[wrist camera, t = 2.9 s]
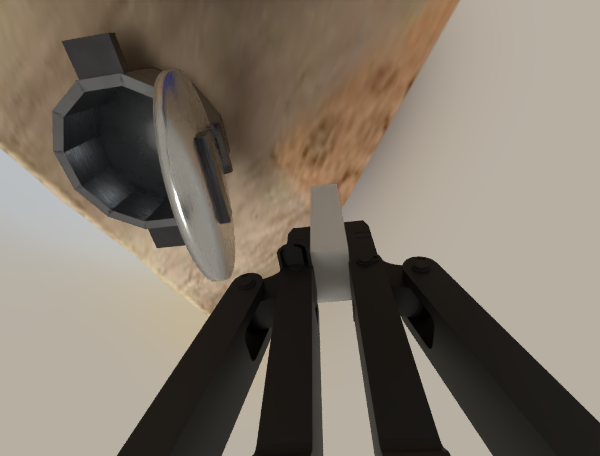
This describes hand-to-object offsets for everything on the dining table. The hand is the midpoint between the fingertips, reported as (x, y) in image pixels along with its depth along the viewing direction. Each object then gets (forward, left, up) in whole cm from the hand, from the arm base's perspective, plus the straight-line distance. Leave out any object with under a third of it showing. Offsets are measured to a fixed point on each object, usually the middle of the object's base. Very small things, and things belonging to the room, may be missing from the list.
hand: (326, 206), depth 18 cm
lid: (0, -10, -6) cm, 11 cm away
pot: (0, -19, -21) cm, 29 cm away
